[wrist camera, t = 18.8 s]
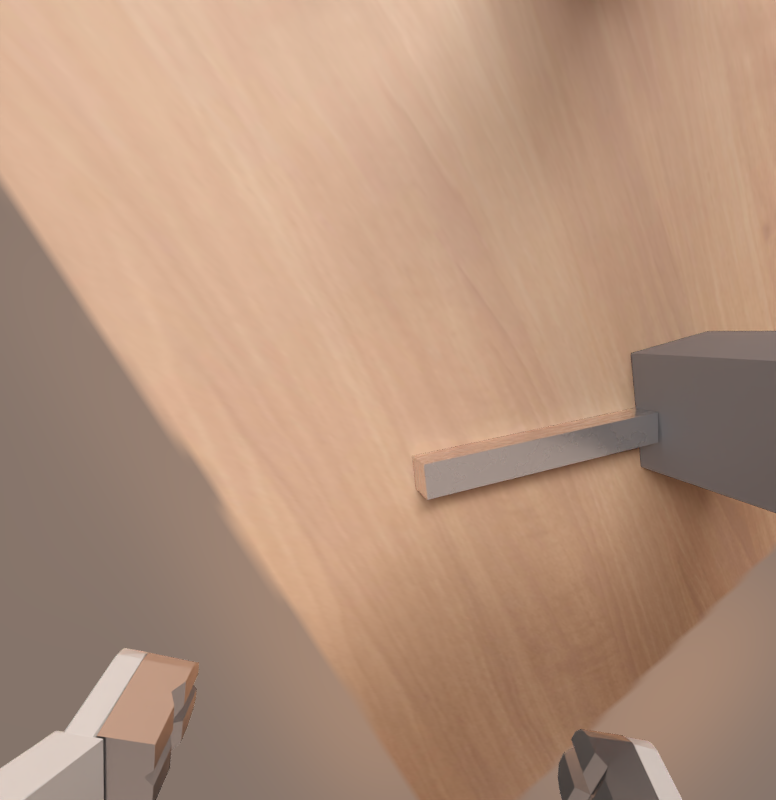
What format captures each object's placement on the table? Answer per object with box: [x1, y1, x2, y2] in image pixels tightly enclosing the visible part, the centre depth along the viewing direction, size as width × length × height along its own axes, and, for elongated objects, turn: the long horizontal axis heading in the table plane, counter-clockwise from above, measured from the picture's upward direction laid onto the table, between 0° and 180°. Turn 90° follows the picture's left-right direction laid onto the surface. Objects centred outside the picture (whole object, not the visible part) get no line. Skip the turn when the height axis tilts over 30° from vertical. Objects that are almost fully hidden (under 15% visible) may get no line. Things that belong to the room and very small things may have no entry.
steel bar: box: [412, 408, 658, 500], centre depth 40 cm, size 24×3×3 cm, turn 97°
